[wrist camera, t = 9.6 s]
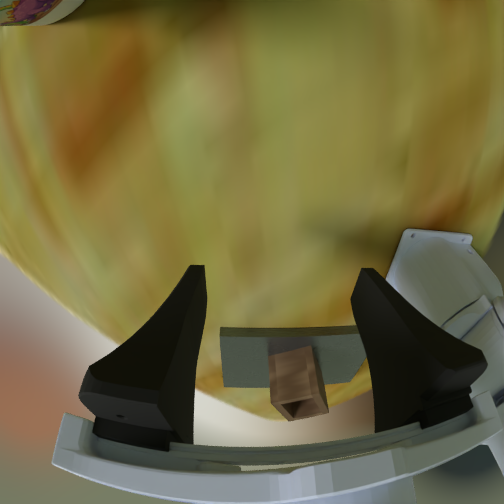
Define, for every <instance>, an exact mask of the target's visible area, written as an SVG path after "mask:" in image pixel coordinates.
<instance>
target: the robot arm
mask: <svg viewBox="0 0 504 504" xmlns="http://www.w3.org/2000/svg"><path fill="white" fill-rule="evenodd" d="M413 233H414V234H413ZM412 234H413V235H412ZM411 235H412V236H411ZM472 239H473V237H472V235H471V234H465V233H455V232H444V231H433V230H421V229H406V230H405V231H404V232H403V235H402V238H401V240H400V243H399V246H398V249H397V251H396V254H395V257H394V259H393V262H392V264H391V267H390V269H389V272H388V274H387V277H386V279H384V278H383V277H382V276H381V275H380V274H379V273H378V272H377V271H376V270H375V269H373V268H361V271H360V274H359V277H358V279H357V282H356V285H355V288H354V291H353V293H352V296H351V299H350V300H351V305H352V310H353V315H354V319H355V322H356V325H357V328H358V331H359V334H360V337H361V340H362V343H363V346H364V349H365V352H366V356H367V360H368V364H369V369H370V375H371V381H372V389H373V398H374V411H375V433H374V434H369V435H365V436H360V437H354V438H349V439H343V440H337V441H330V442H322V443H313V444H304V445H292V446H275V447H222V446H205V445H193V422H194V395H195V379H196V367H197V360H198V354H199V349H200V344H201V339H202V334H203V329H204V324H205V319H206V308H207V290H206V278H205V266H204V265H190V266H189V267H188V269H187V270H186V272H185V274H184V275H183V277H182V278H181V280H180V281H179V283H178V284H177V286H176V287H175V288H174V290H173V291H172V292H171V294H170V295H169V297H168V298H167V299H166V300H165V302H164V303H163V304H162V305H161V306H160V308H159V309H158V310H157V311H156V312H155V314H154V315H153V316H152V317H151V318H150V319H149V320H148V321H147V322H146V323H145V324H144V325H143V326H142V327H141V328H140V329H139V330H138V331H137V332H136V333H135V334H134V335H132V336H131V337H130V338H129V339H128V340H127V341H125V342H124V343H123V344H121V345H120V346H119V347H118V348H116V349H115V350H114V351H112V352H111V353H110V354H108V355H107V356H105V357H103V358H102V359H100V360H98V361H97V362H95V363H94V364H92V365H90V366H89V368H88V370H87V372H86V374H85V376H84V379H83V382H82V385H81V389H80V392H79V395H78V396H79V399H80V401H81V402H82V403H83V404H84V405H85V406H86V407H87V408H88V409H89V410H90V411H91V412H92V413H93V414H94V415H95V416H96V418H95V422H92V421H90V420H88V419H85V418H82V417H78V416H75V415H72V414H69V413H64V415H63V418H62V422H61V426H60V429H59V433H58V437H57V441H56V446H55V450H54V454H53V459H52V464H53V465H55V466H57V467H59V468H61V469H63V470H66V471H69V472H71V473H73V474H75V475H78V476H80V477H83V478H86V479H88V480H92V481H94V482H97V483H100V484H104V485H107V486H110V487H113V488H117V489H120V490H124V491H128V492H132V493H136V494H140V495H145V496H150V497H154V498H160V499H165V500H171V501H178V502H186V503H194V504H417V501H416V495H415V489H414V483H413V478H412V476H415V475H417V474H420V473H422V472H425V471H427V470H430V469H432V468H434V467H437V466H439V465H441V464H443V463H445V462H447V461H449V460H451V459H453V458H456V457H458V456H459V455H461V454H463V453H465V452H467V451H469V450H471V449H473V448H474V447H476V446H478V445H480V444H484V445H488V446H489V447H490V449H491V451H492V453H493V455H494V457H495V459H496V461H497V463H498V465H499V467H500V469H501V471H502V473H503V475H504V296H503V291H502V287H501V284H500V282H499V280H498V278H497V277H496V276H495V274H494V273H493V272H492V270H491V269H490V268H489V267H488V265H487V264H486V263H485V262H484V260H483V259H482V258H481V257H480V256H479V254H478V253H477V252H476V251H475V250H474V249H473V248H472V246H471V245H470V244H471V242H472ZM378 449H379V450H378ZM374 450H377V451H375V452H371V453H367V454H362V455H357V456H353V457H347V458H342V459H336V460H329V461H324V462H318V463H313V464H308V465H304V466H297V467H288V468H279V469H268V470H255V471H241V468H240V467H239V466H233V465H279V464H293V463H304V462H313V461H321V460H328V459H334V458H340V457H346V456H351V455H356V454H361V453H366V452H370V451H374Z"/></svg>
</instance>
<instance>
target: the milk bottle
mask: <svg viewBox="0 0 504 504" xmlns="http://www.w3.org/2000/svg"><path fill="white" fill-rule="evenodd" d="M84 1H85V0H0V26H15V25H48V24H51V23H54V22H56V21H58V20H60V19H62V18H64V17H66V16H67V15H68V14H70V13H71V12H73V11H74V10H75V9H76V8H77V7H79V6H80V5H81V4H82V3H83V2H84Z"/></svg>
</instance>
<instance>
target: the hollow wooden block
mask: <svg viewBox="0 0 504 504" xmlns="http://www.w3.org/2000/svg"><path fill="white" fill-rule="evenodd" d="M268 364H269V381H270V397H271V404H272V405H273V406H274V407H275V408H276V409H277V410H278V411H279V412H280V413H281V414H282V415H283V416H284V417H285V418H286V419H287V420H288V421H294V420H299V419H304V418H309V417H313V416H317V415H322V414H326V413H329V410H328V404H327V398H326V392H325V387H324V381H323V376H322V371H321V369H320V366H319V364H318V361H317V359H316V357H315V354H314V352H313V349H312V347H311V345H310V346H307V347H303V348H299V349H296V350H292V351H288V352H284V353H280V354H275V355H271V356H268Z"/></svg>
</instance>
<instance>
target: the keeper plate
mask: <svg viewBox="0 0 504 504" xmlns="http://www.w3.org/2000/svg"><path fill="white" fill-rule="evenodd" d="M310 345H311V347H312V349H313V352H314V354H315V357H316V359H317V361H318V364H319V366H320V369H321V371H322V376H323V381H324V385H325V384H336V383H345V382H350V381H351V380H352V378H353V377H354V375H355V374H356V372H357V371H358V369H359V368H360V366H361V365H362V363H363V361H364V360H365V358H366V357H367V356H366V352H365V349H364V346H363V343H362V340H361V337H360V334H359V331H358V328H357V326H339V327H316V328H223V327H220V347H221V360H222V371H223V382H224V387H240V388H269V387H270V381H269V364H268V356H271V355H275V354H280V353H284V352H288V351H292V350H296V349H299V348H303V347H307V346H310Z"/></svg>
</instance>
